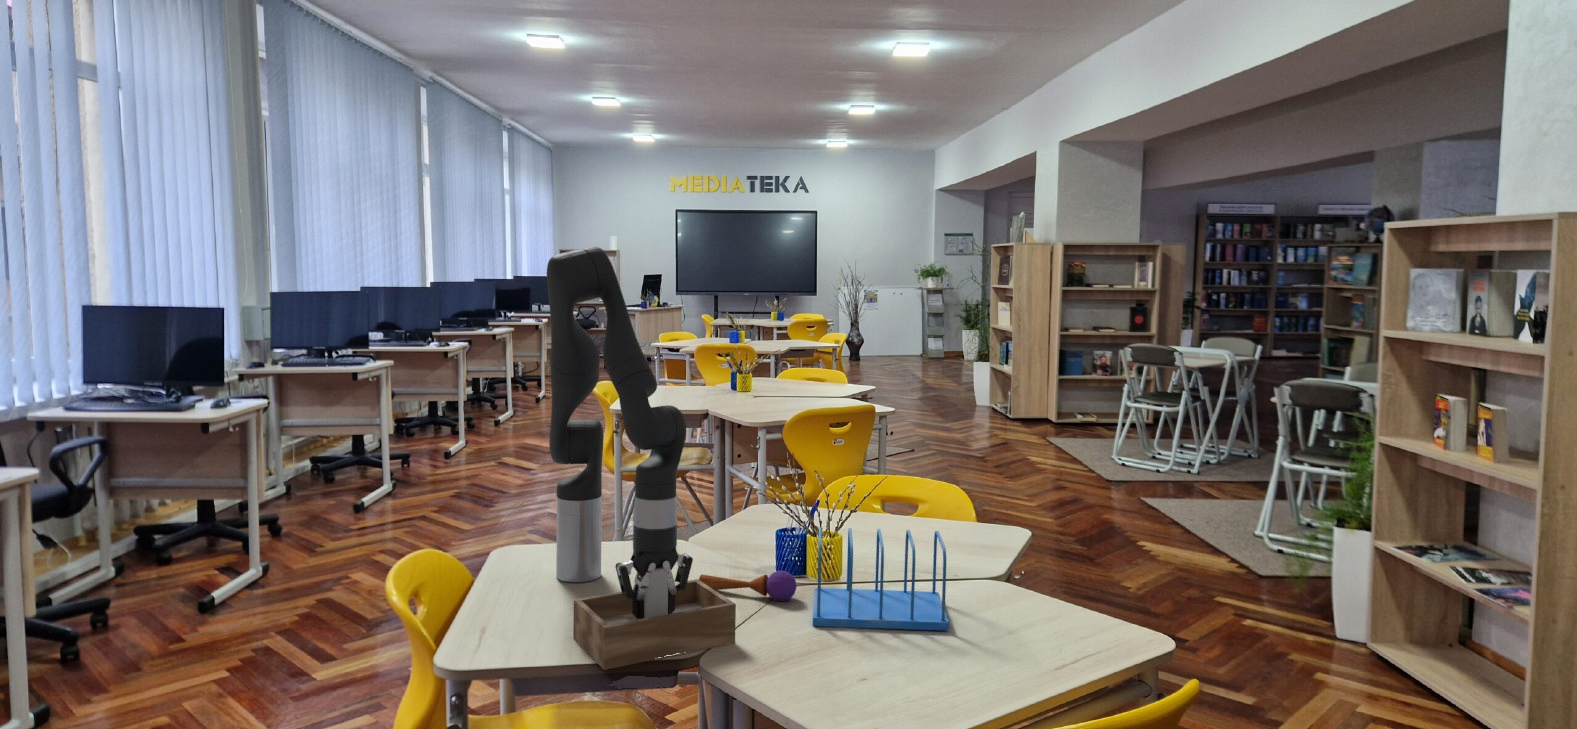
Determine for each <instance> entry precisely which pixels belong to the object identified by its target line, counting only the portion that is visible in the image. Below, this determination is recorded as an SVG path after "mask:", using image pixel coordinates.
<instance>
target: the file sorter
mask: <svg viewBox="0 0 1577 729" xmlns="http://www.w3.org/2000/svg"><path fill="white" fill-rule="evenodd" d="M822 530H823V528H822V527H821V526H819V527H818V550H817V551H818V554H817V556H818V558H817V560H818V561H817V587H814V592H813V593H814V594H813V608H812V626H813V627H833V628H835V627H836V628H839V627H840V628H864V629H868V628H869V629H891V630H917V631H918V630H921V631H922V630H923V631H945V632H946V631H947V632H948V631H949V630H950V621H949V619H948V616H947V613H946V594H947V593H946V590H947V588H946V586H947V550H946V548H947V547H946V546H945V544H944V543H945V542H944V540H943V538H942V535H941V534H940V531H939V530H935V531H934V536H933V563H932V564H933V565H932V591H923V590H921V591H920V590H915V587H916V586H915V583H916V582H915V581H916V547H915V542H914V538H913V536H912V533H911V531H910V529H907V530H906V531H905V547H904V552H905V553H904V572H903V573H904V577H903V590H895V589H894V590H891V589H884V572H885V570H884V568H885V567H884V566H885V547H884V546H885V544H884V541H883V540H884V539H883V536H882V531H881V529H880V528H877V529H876V552H875V553H876V554H875V581H874V582H875V584H874V585H875V587H874V589H869V588H868V589H863V588H853V573H854V572H853V569H854V543H853V542H854V540H853V531H852V528H851V527H849V528H848V531H847V537H848V538H847V562H846V563H847V566H846V572H847V573H846V588H833V587H832V588H831V587H829V588H827V587H826V588H825V587H821V586H822V544H823V543H822V538H823V537H822V534H823V532H822ZM938 542H939V545H940V546H941V549H942V558H943V560H942V561H943V562H942V587H941V588H942V594H941V596H940V593H939V592H938V591H936V586H937V585H936V584H937V581H936V579H937V553H938V551H937V549H938V547H937V546H938ZM909 543H910V547H911V553H912V554H911V555H912V559H911V561H912V562H911V563H912V564H911V566H912V567H911V587H910V588H911V590H908V587H907V586H908V564H909V562H908V559H909V558H908V557H909ZM879 562H880V563H879ZM879 568H880V574H879ZM879 575H880V576H879ZM879 578H880V581H879ZM941 597H942V598H941Z"/></svg>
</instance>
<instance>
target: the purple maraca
mask: <svg viewBox="0 0 1577 729" xmlns="http://www.w3.org/2000/svg"><path fill="white" fill-rule="evenodd" d="M698 580H700V581H701V582H703V583H704V584H706V585H707V586H709V587H710V588H712V589H714V590H715V591H720V590H732V589H747V588H749V589H751V590H753V591H755V592H757V593H759V594H760V595H762V596H764V597H766V596H769V597H770V598H771V599H772V600H774V601H776V602H785V601H789V600H790V599H791V598H792V597H793V596H795V594H796V590H797V582H796V579H795V577H794V576H793V575H792V574H791V573H790V572H787V571H786V570H777V571H774V572H772V573H771V574H770V576H768V574H764V575H762V576H759V577H757V578H755V579H753V580H750V581H746V580H740V579H732V578H726V577H720V576H716V575H715V576H713V575H707V574H703V573H702V574H700V575H699V577H698Z"/></svg>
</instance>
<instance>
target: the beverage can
mask: <svg viewBox="0 0 1577 729" xmlns="http://www.w3.org/2000/svg"><path fill="white" fill-rule="evenodd" d="M665 569H666V568H664V569H663V568H657V569H655V570H652V572H651V573H649V575H648V577H649V586H648V588H646V591H645V594H644V597H643V600H644V618H649V617H655V616H660V615H666V614H668V571H664V570H665ZM640 580H641V581H642V580H643V578H642V577H641V576H640Z"/></svg>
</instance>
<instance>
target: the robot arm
mask: <svg viewBox="0 0 1577 729" xmlns="http://www.w3.org/2000/svg"><path fill="white" fill-rule="evenodd" d="M617 277H618V276H617V274H616V272H615V269H614V267H613V264H612V262H611V260H610V258H609V256H608V254H607V253H606V252H605V251H604V249H602V248H600V247H598V246H590V247H588V246H587V247H585V248H580V249H575V250H570V251H566V252H562V253H559V254H555V255H553V256H551V257H550V259H549V260H548V262H547V266H546V284H547V294H548V296H547V297H548V304H549V305H548V306H549V314H550V337H551V338H550V340H551V342H550V343H551V344H550V345H551V346H550V386H551V412H550V428H549V443H548V444H549V453H550V456H551V460H552V461H553V462H554V463H556V464H558V465H586V467H585V468H584V469H583V470H582V471H580V472H578V473H577V474H575V475H573V476H570V477H567V478H564V479H562V480H561V481H559V482H558V483H557V485H556V558H555V559H556V566H555V568H556V571H555V573H556V578H557V580H559V581H562V582H565V583H585V582H592V581H595V580H598V579H599V578H600V577H601V576H602V526H603V525H602V521H603V519H602V516H603V514H602V510H603V509H602V506H603V504H602V502H603V501H602V499H603V498H602V496H603V493H602V492H603V490H602V488H603V487H602V483H603V482H602V476H603V475H602V472H603V471H602V470H603V469H602V468H603V455H604V454H603V453H604V439H605V438H604V430H603V428H604V427H603V424H602V423H601V421H599V420H598V419H571V417H572V415H573V414H574V412H575V411H576V409H577V408H578V407H579V406H580V405H581V404H582V403H583V402H584V401H585V400H586V399H587V398H588V397H589V396H590V395H591V393H592V392H593V391H594V390H595V388H596V386H597V384H598V382H599V380H600V379H599V377H600V362H601V361H600V359H601V358H600V357H601V356H600V350H599V347H598V345H597V343H596V342H595V340H594V339H593V338H592V336H590V334H589V333H588V332H587V331H586V330H585V329H584V328H583V327H582V326H581V325H580V324H579V322H578V321H577V319H576V318H575V313H574V312H575V311H574V310H575V306H576V305H577V304H580V303H583V302H587V301H591V300H595V299H598V298H600V300H601V302H602V303H603V305H604V308H605V312H606V313H605V314H606V327H605V333H604V338H603V347H602V359H603V364H604V368H605V370H606V372H607V375H608V376H609V380H610V381H611V383H612V385H613V387H614V390H615V391H616V393H617V395H618V399H619V406H620V411H621V418H622V422H623V428H624V431H625V432H624V433H625V435H626V436H627V439H628V440H629V442H630V443H631V444H632V445H634V446H635V447H636V448H637V449H639V450H643V451H649V450H650V454H649V456H648V457H647V458H646V459H644V460H643V461H642V462H640V463H639V464H637V466H636V469H635V474H634V475H635V477H634V479H635V482H634V483H635V485H634V486H635V487H634V488H635V490H634V491H635V492H634V493H635V494H634V503H633V514H632V524H633V525H632V550H633V551H632V555H631V557H630V560H628V561H626V562H624V563H621V562H617V563H616V564H615V566H614V568H615V571H616V575H617V579H618V584H619V587H620V592H622V594H623V595H625V596H626V597H627V598H629V599H632V614H633V616H634V617H635V618H636V619H637V620H638V619H644V600H643V597H644V594H645V591H646V588H648V586H649V577H648V575H649V573H651V572H652V570H655V569H657V568H663V569H664V568H666V569H665V570H664V571H668V614H671V613H672V612H674V610H675V594H676V593H677V592H678V591H680V590H684V589H685V588H686V585H687V581H689V577H690V572H691V569H692V565H693V560H694V558H693V557H692V556H690V555H689V554H686V553H682V554H680V553H678V551H677V546H678V542H677V541H678V503H677V471H678V468H679V465H680V463H681V462H680V461H681V458H682V454H683V450H684V446H685V442H686V437H687V424H686V420H685V416H684V415H683V413H682V411H681V410H680V409H679V408H677V407H676V406H673V405H669V404H668V405H660V406H659V405H658V406H651V405H650V402H649V398H650V397H652V395H654V394H655V393H656V391H657V389H658V383H657V379H656V377H655V374H654V373H653V370H652V369H651V366H650V364H649V361H648V360H647V358H646V356H645V354H644V352H643V350H642V348H641V346H640V343H639V341H638V339H637V335H636V333H635V330H634V327H633V324H632V321H631V317H630V314H629V310H628V308H627V305H626V301H625V299H624V295H623V291H622V289H621V287H620V283H619V279H618V278H617ZM676 564H677V570H676V574H675V578H674V575H673V572H672V569H673V568H674V567H675V566H676ZM632 569H634V570H635V571H636V575H635V577H634V581H633V582H634V584H633V586H632V583H631V578H630V575H631V574H632ZM640 576H641V577H642V578H643V580H642V581H641V580H640Z"/></svg>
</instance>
